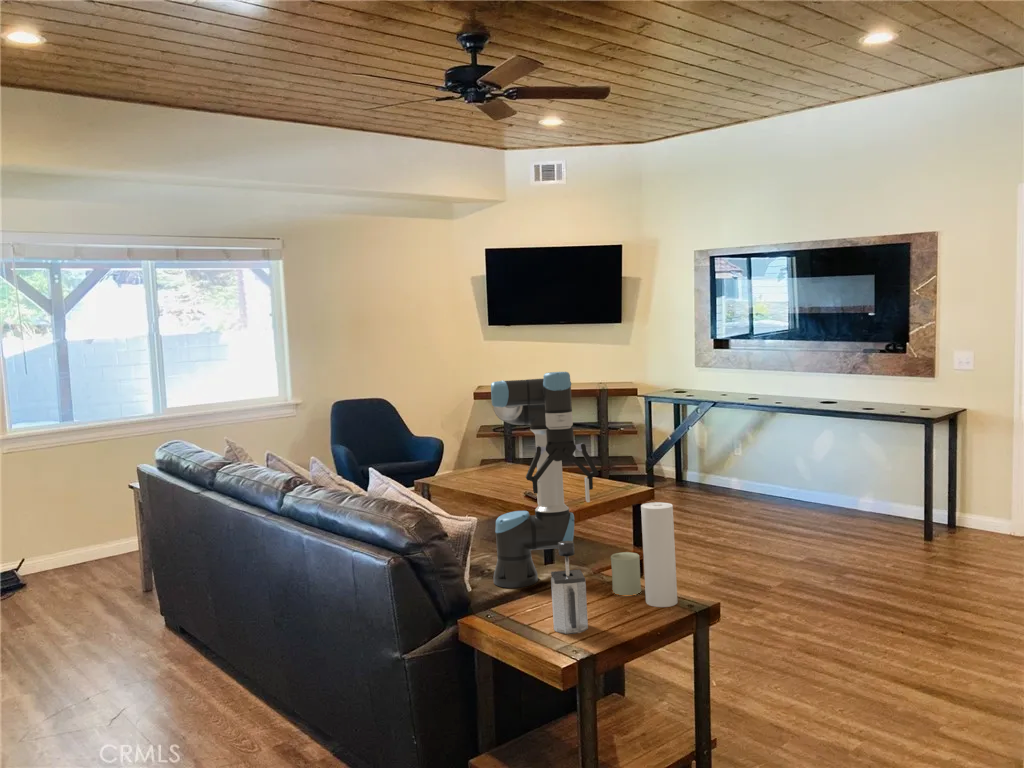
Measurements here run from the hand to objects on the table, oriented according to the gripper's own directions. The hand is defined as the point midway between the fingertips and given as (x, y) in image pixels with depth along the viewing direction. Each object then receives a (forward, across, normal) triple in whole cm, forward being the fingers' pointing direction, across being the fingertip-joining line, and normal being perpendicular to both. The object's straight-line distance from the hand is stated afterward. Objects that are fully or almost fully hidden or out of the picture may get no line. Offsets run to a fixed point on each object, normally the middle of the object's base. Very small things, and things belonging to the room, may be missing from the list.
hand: (563, 503), depth 213 cm
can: (+36, +22, +26) cm, 50 cm away
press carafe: (+35, 0, -2) cm, 35 cm away
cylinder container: (+36, +30, +14) cm, 49 cm away
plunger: (+31, 0, -1) cm, 31 cm away
